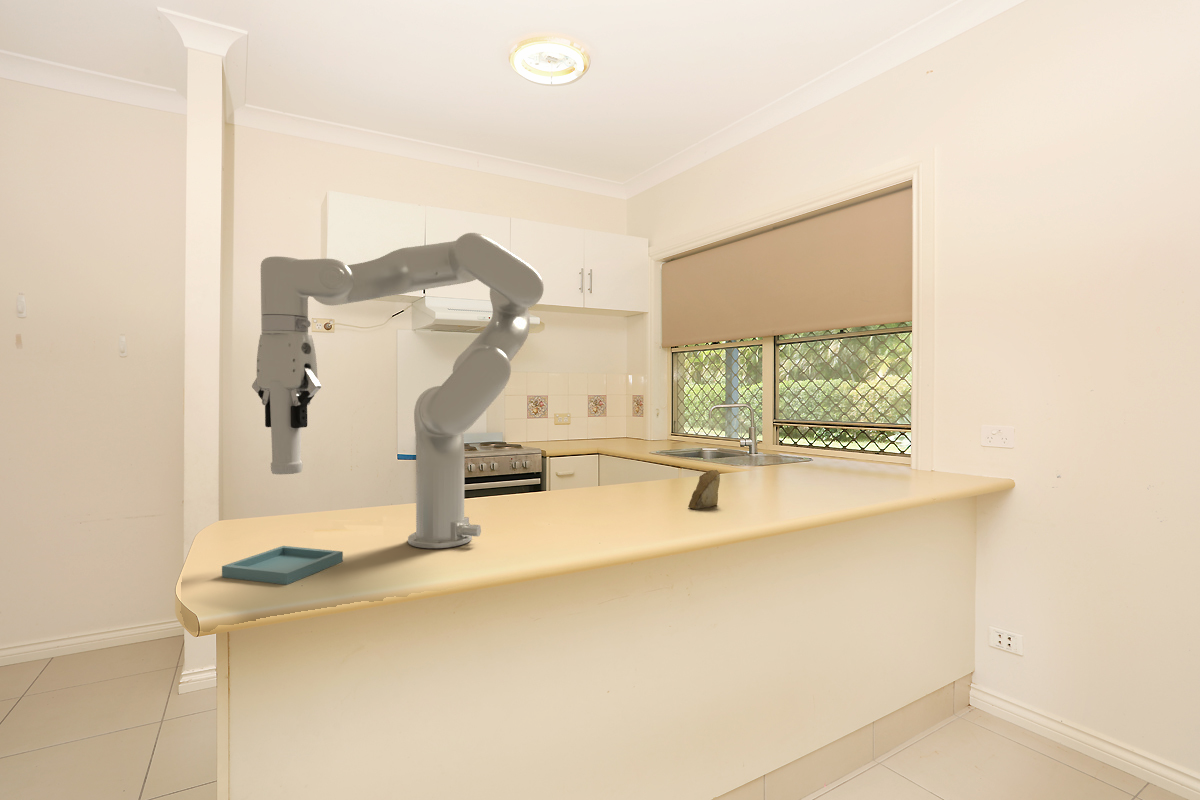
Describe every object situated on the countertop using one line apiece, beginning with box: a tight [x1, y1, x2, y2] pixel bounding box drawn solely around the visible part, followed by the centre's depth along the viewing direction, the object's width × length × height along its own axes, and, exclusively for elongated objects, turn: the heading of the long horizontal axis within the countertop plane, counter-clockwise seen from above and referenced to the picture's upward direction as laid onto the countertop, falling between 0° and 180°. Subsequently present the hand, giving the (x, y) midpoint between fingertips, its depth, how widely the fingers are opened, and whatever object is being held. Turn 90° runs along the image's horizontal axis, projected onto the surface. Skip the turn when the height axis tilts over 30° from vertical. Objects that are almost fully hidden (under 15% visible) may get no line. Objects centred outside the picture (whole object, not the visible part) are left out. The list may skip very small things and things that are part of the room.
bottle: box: [270, 380, 304, 475], centre depth 108 cm, size 5×5×25 cm
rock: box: [687, 469, 721, 510], centre depth 159 cm, size 11×9×10 cm
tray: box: [221, 545, 344, 586], centre depth 103 cm, size 13×13×2 cm
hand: (286, 426), depth 108 cm, fingers closed on bottle, 5 cm apart
